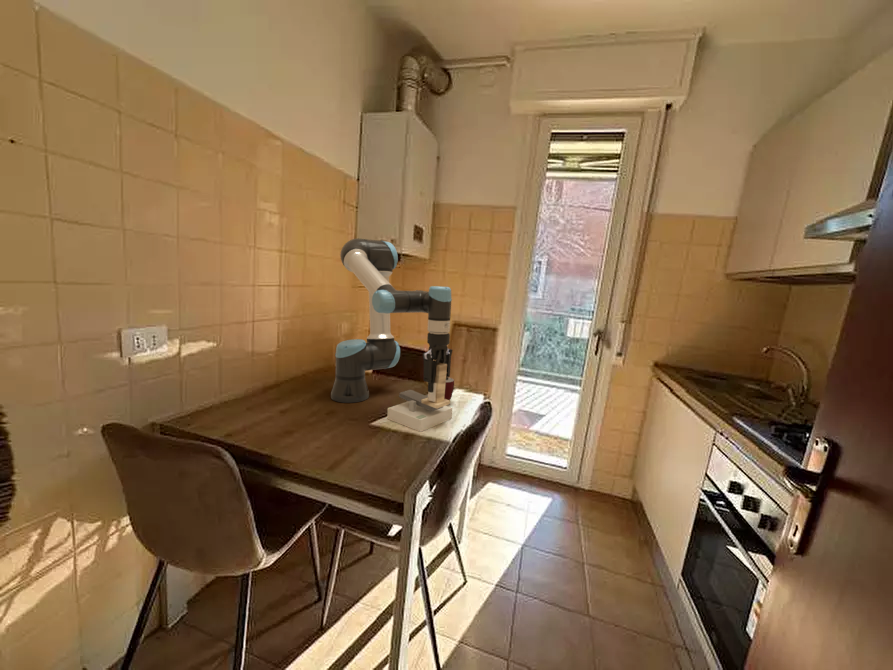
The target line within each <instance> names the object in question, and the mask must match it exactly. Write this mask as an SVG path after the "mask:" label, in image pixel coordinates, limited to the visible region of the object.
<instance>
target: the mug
mask: <svg viewBox="0 0 893 670" xmlns="http://www.w3.org/2000/svg"><path fill="white" fill-rule="evenodd" d="M447 378H448V380H446V384H445V395H444V399H447V400H450V401H451V400H452V396H453V392H454V388H455V379H454V378H452V377H447Z"/></svg>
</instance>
